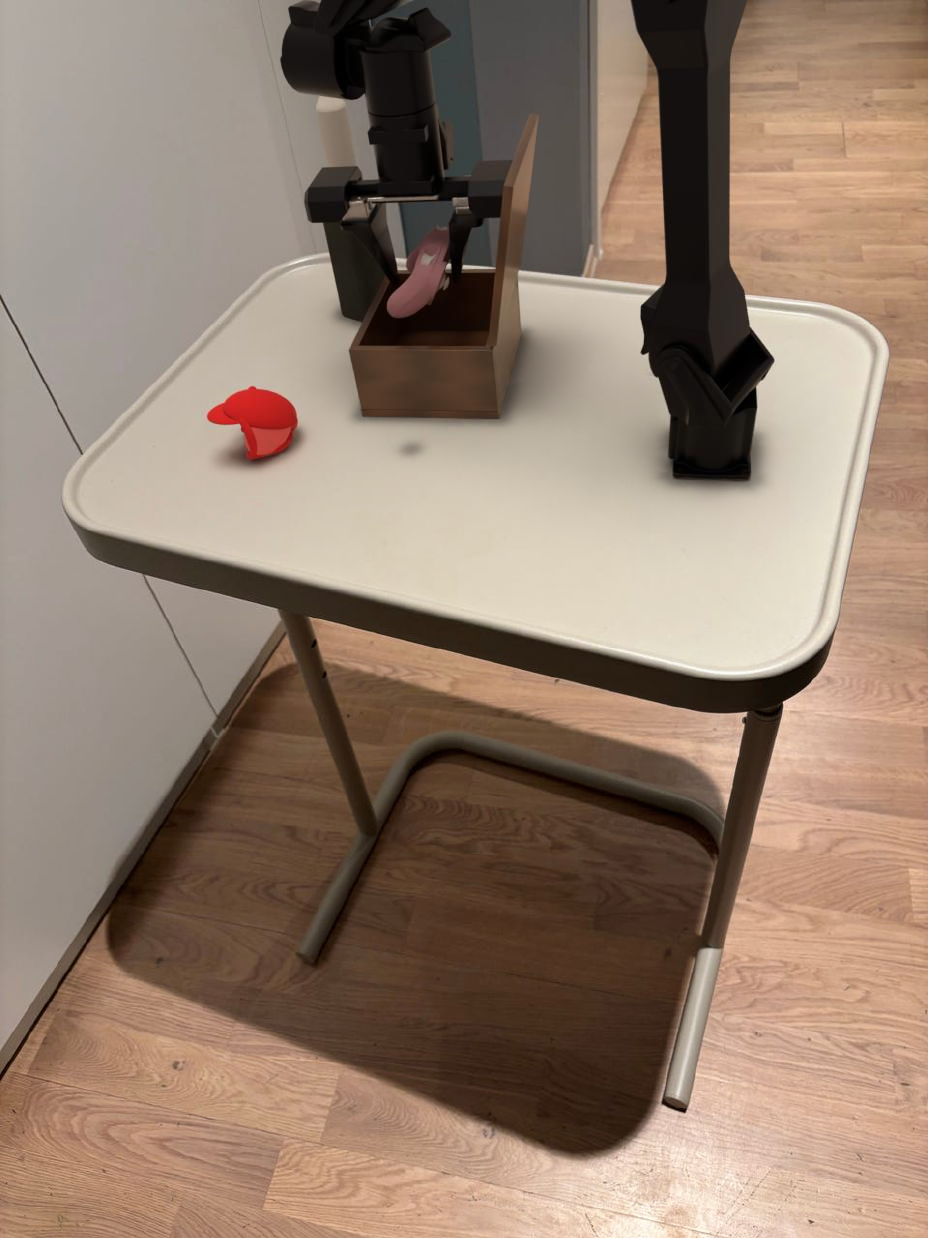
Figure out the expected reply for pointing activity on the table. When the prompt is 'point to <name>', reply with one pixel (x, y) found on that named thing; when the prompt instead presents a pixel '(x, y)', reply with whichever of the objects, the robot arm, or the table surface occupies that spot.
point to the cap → (258, 419)
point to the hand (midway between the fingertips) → (426, 283)
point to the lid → (512, 227)
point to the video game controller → (423, 274)
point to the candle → (347, 253)
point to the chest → (436, 352)
